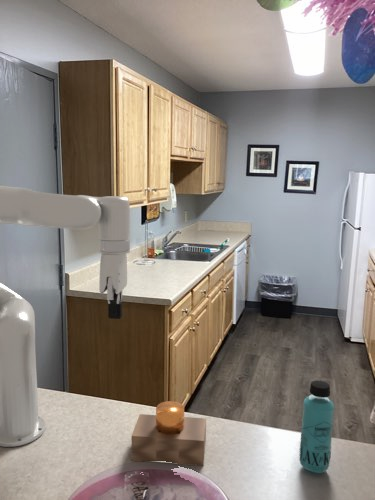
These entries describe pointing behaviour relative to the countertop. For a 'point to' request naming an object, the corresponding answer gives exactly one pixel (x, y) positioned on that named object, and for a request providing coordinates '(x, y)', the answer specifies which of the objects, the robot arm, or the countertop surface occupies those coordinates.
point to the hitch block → (169, 442)
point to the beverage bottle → (317, 428)
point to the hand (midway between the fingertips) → (115, 317)
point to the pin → (170, 417)
